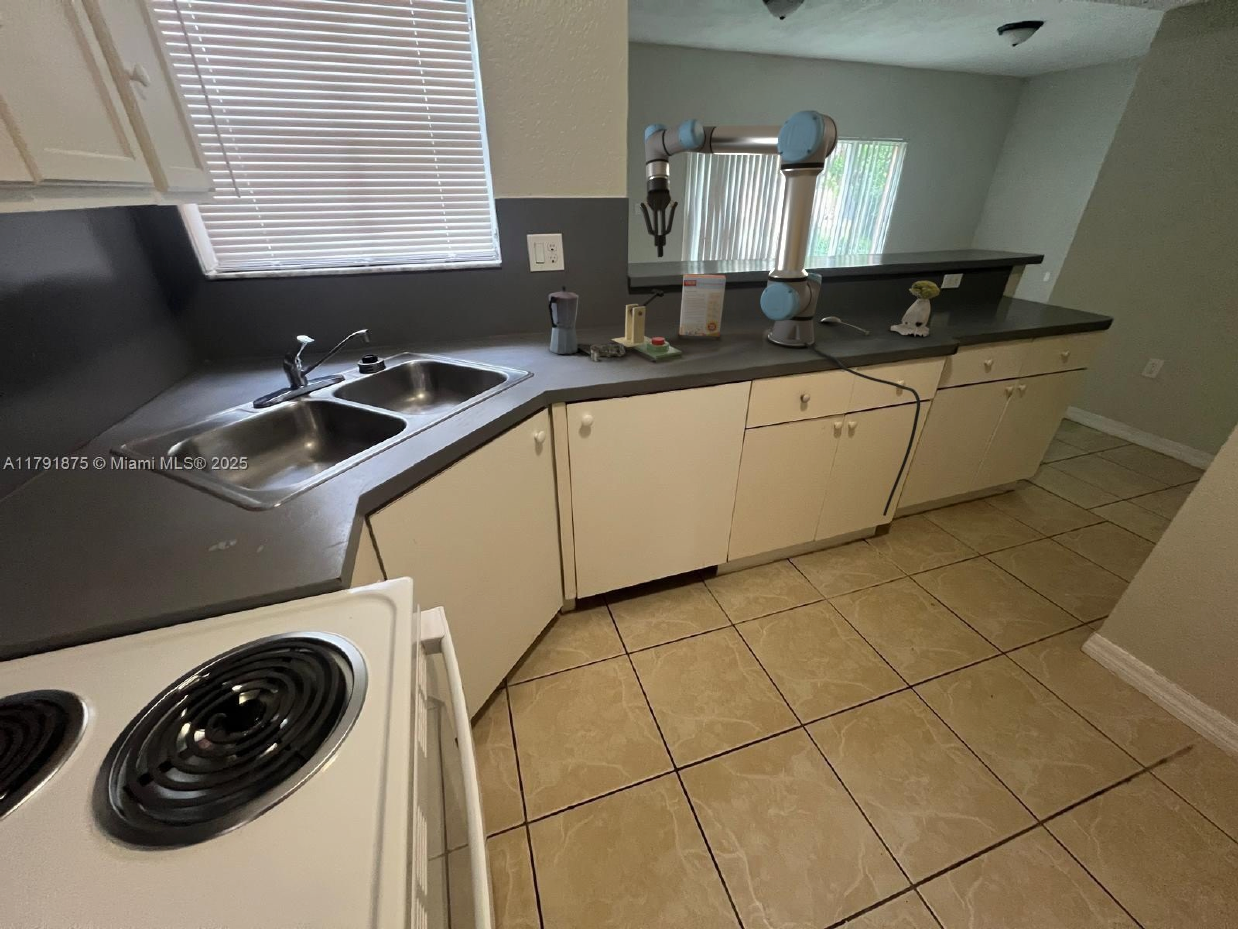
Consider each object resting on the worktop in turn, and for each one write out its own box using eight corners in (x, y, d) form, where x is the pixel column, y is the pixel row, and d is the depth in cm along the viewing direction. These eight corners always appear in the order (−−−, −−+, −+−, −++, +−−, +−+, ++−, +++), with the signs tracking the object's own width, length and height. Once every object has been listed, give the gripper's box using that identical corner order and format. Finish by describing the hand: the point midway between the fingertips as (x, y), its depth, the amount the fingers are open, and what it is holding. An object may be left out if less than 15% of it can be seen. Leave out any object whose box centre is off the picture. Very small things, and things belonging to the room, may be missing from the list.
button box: (681, 358, 153) (682, 345, 151) (655, 363, 148) (656, 350, 146) (658, 347, 161) (659, 336, 159) (633, 352, 157) (634, 340, 155)
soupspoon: (829, 322, 197) (816, 324, 195) (830, 313, 196) (817, 315, 193) (873, 334, 180) (860, 336, 177) (875, 325, 178) (862, 327, 176)
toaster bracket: (640, 338, 170) (642, 300, 164) (657, 345, 163) (659, 307, 157) (611, 343, 165) (611, 304, 158) (627, 351, 158) (628, 311, 151)
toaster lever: (655, 293, 163) (653, 287, 161) (664, 296, 159) (662, 290, 157) (629, 315, 161) (626, 309, 159) (638, 318, 157) (635, 312, 156)
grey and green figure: (908, 326, 191) (924, 277, 181) (936, 335, 180) (954, 283, 171) (884, 328, 187) (899, 278, 178) (911, 337, 177) (928, 284, 168)
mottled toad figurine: (590, 361, 148) (590, 348, 146) (590, 354, 155) (589, 341, 153) (625, 361, 149) (625, 348, 147) (623, 353, 155) (623, 341, 153)
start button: (666, 344, 152) (667, 339, 151) (656, 346, 150) (656, 341, 150) (659, 341, 155) (659, 336, 154) (649, 343, 153) (649, 337, 152)
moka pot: (586, 346, 161) (585, 283, 151) (567, 360, 149) (565, 292, 138) (560, 343, 164) (558, 281, 154) (539, 356, 151) (535, 290, 141)
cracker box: (717, 335, 175) (725, 274, 164) (719, 340, 170) (726, 277, 159) (678, 334, 176) (683, 273, 165) (678, 338, 171) (684, 276, 160)
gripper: (674, 183, 165) (676, 257, 170) (636, 184, 163) (640, 259, 168) (679, 175, 157) (681, 253, 162) (640, 176, 156) (643, 254, 161)
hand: (660, 256), depth 165 cm, fingers closed
